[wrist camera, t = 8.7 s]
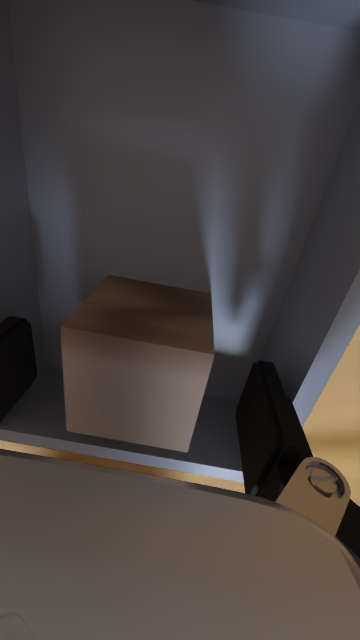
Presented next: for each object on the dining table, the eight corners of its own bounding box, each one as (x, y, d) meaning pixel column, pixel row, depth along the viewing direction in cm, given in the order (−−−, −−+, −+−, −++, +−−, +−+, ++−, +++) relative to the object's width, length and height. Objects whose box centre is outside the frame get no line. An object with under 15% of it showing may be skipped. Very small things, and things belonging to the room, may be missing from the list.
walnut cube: (211, 293, 13) (214, 355, 9) (192, 373, 15) (187, 452, 11) (108, 274, 13) (60, 326, 9) (105, 357, 15) (66, 431, 11)
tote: (252, 406, 17) (268, 487, 13) (39, 368, 17) (-18, 437, 13) (410, 14, 9) (623, -150, 4) (-13, -64, 9) (-242, -314, 4)
